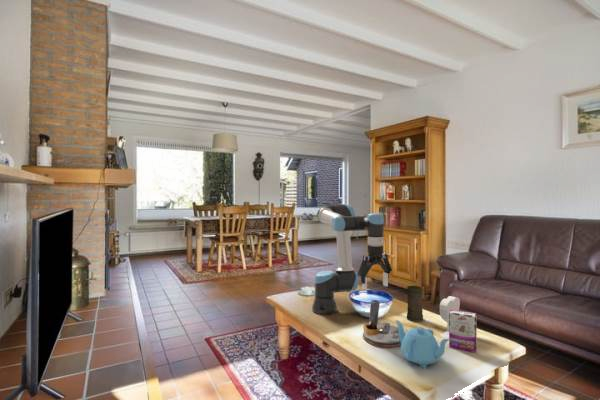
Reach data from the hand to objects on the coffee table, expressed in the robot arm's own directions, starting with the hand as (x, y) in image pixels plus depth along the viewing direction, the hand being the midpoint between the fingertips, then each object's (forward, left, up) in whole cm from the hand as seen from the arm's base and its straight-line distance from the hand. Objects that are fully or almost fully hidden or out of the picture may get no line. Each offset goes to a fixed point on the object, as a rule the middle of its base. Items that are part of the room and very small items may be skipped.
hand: (375, 287), depth 161 cm
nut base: (+2, +3, -25) cm, 25 cm away
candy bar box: (+28, +27, -25) cm, 47 cm away
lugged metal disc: (+2, +3, -24) cm, 24 cm away
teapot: (+26, +1, -25) cm, 36 cm away
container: (-7, +36, -25) cm, 45 cm away
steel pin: (0, -2, -21) cm, 21 cm away
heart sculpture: (+15, +36, -25) cm, 47 cm away
